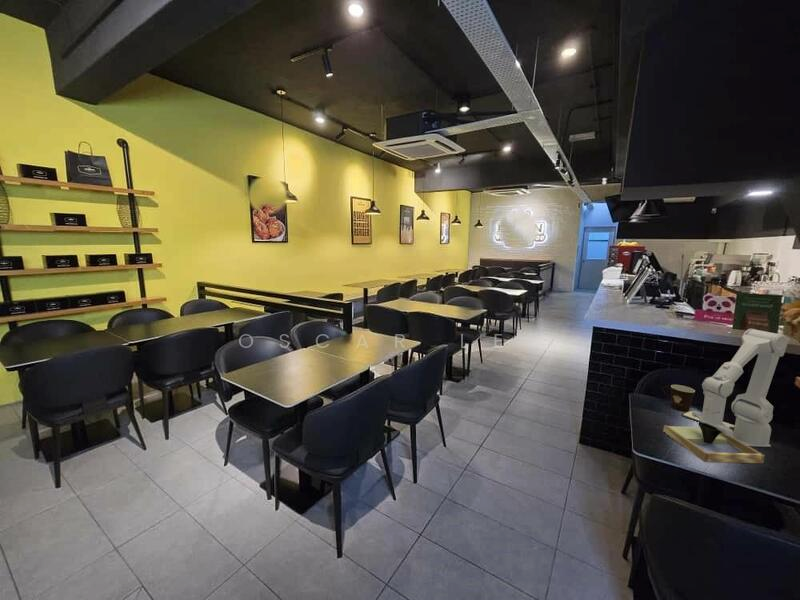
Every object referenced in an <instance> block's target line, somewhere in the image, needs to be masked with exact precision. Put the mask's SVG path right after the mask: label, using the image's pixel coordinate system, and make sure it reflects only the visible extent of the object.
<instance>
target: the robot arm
mask: <svg viewBox="0 0 800 600" xmlns="http://www.w3.org/2000/svg"><path fill="white" fill-rule="evenodd" d="M741 343H742V344H741V345H740V347H739V348H738V350H737V352H736V353H735V354H734V356H733V357H732V358H731V360H730V361H727V362H724V363H723V364H722V365H721V366H720V367H719V368H718V369H717V371H716V372H714V374H713V375H712V376H708V377H706V378H705V379H704V380H703V382H702V384H701V386H702V389H703V392H702V393H703V395H704V397H703V398H704V401H703V406H702V412H700V411H696V410H694V411H693V410H691V411H692V416H694V417H697V418H699V421H700V422H702V423H698V422H697V425H698V427H700V428H701V431H702V434H703V439H704V442H705V443H706V444H705V445H713V444H712V443H713V442H714V440H715V438H716V437H717V436H718V435H719V434H720V433H721V432H723V433H725V435H727V436H732V437H734V438H735V439H737V440H739V441H741V442H742V443H744V444H746V445H748V446H749V447H758V448H759V447H764V448H768V447H769V448H771V446H772V445H771V444H770V438H771V433H772V428H771V425H770V424H769V423H770V422H771V421H772V420H773V416H774V414H773V412H774V406H773V405H772V404H771V403H770V402H769V400H767V399H766V397H767V395H768V392H769V389H770V385H771V383H772V380H773V376H774V375H775V371H776V367H777V365H778V362H779V359H780V357H784V355H785V352H786V350H787V346H788V344H789V340H788V339H787V337H786V336H785V334H782V333H775V332H769V331H765V330H758V329H755V328H748V329H747V330H746V331H744V332H743V335H742V337H741ZM756 355H757V358H756V362H755V364H754V367H753V370H752V373H751V376H750V379H749V382H748V386H747V389H746V392H745V393H741V394H737V395H736V397H735V399H734V400H733V401H732V402H731V406H730V407H731V412H732V413H734V414H733V416H735V423H734V426H735V428H734V431H733V430H731V429H729V428H728V427H727V426H726V425H725V424H724V423H723V422H724V421H723V420H724V416H725V415H724V414H725V408H726V403H727V398H728V397H729V396H731V394H733V391H734V387H735V385H736V384H735V382H737V380H739V378H740V377H741V376H742V374H744V370H743V368H744V367H745V365H746V364H748V362H749V361H751V360H752V359H753V358H754V357H755V356H756Z"/></svg>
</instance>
